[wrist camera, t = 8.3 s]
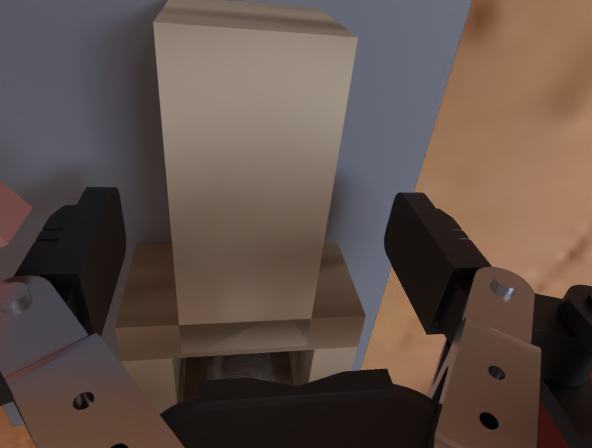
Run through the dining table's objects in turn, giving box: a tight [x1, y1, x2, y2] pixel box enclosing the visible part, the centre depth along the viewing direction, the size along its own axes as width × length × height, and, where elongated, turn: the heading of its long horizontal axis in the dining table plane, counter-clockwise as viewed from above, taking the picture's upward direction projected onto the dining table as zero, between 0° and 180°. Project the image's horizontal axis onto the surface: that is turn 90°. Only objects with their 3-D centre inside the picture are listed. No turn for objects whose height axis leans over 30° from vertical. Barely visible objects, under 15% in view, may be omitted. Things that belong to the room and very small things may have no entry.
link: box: [115, 0, 366, 414], centre depth 14 cm, size 16×8×4 cm, turn 174°
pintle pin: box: [207, 352, 273, 382], centre depth 15 cm, size 2×2×8 cm
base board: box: [0, 0, 472, 426], centre depth 14 cm, size 17×28×1 cm, turn 174°
